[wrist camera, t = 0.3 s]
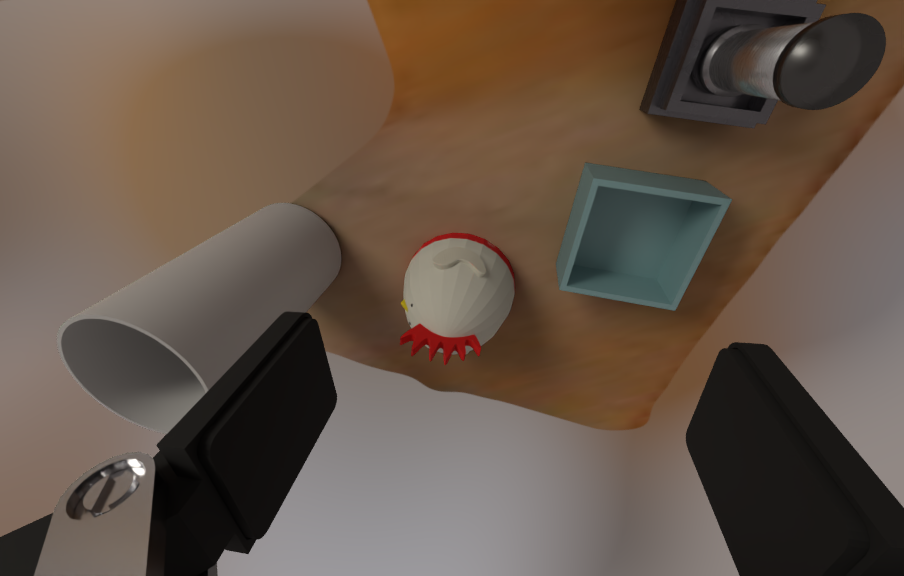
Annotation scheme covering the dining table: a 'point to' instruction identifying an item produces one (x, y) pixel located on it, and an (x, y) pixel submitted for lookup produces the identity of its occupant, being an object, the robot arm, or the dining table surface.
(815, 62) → the pepper mill
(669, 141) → the dining table surface
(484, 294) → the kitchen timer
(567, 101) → the dining table surface
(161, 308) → the cylinder vase
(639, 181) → the bin
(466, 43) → the dining table surface
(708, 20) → the square recessed block
